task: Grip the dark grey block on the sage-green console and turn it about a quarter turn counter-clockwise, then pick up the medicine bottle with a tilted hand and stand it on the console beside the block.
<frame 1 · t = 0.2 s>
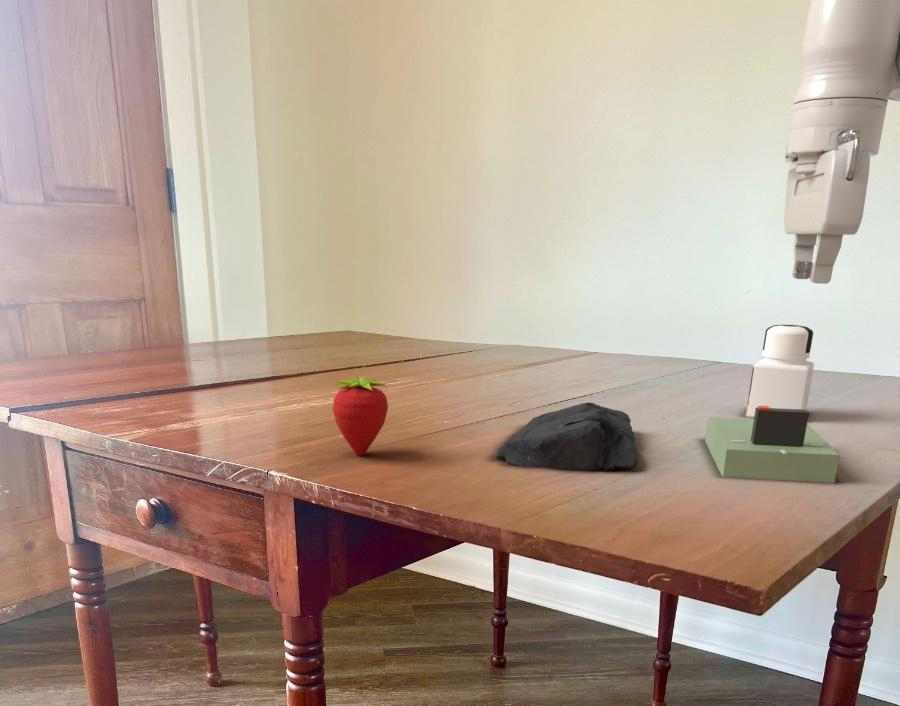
hand: (809, 281, 94), 19 cm above the table, tool pointing down, fingers open, 8 cm apart
console: (763, 460, 96), on the table
dark slate chunk: (573, 449, 100), on the table
medicine bottle: (775, 417, 120), on the table
strawberry: (361, 457, 96), on the table
dark grey block: (779, 425, 90), point 5 cm above the table, hinge at 0.0°
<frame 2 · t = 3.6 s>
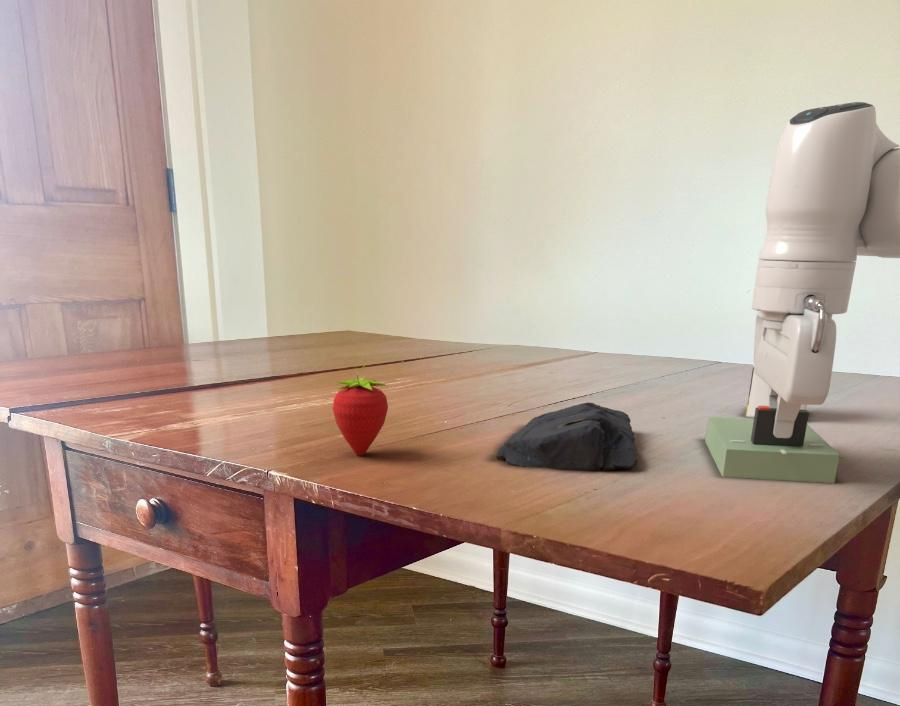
hand: (778, 433, 90), 4 cm above the table, tool pointing down, fingers closed on dark grey block, 2 cm apart
dark grey block: (779, 425, 90), point 5 cm above the table, hinge at -0.1°, touching gripper
everything else where it was.
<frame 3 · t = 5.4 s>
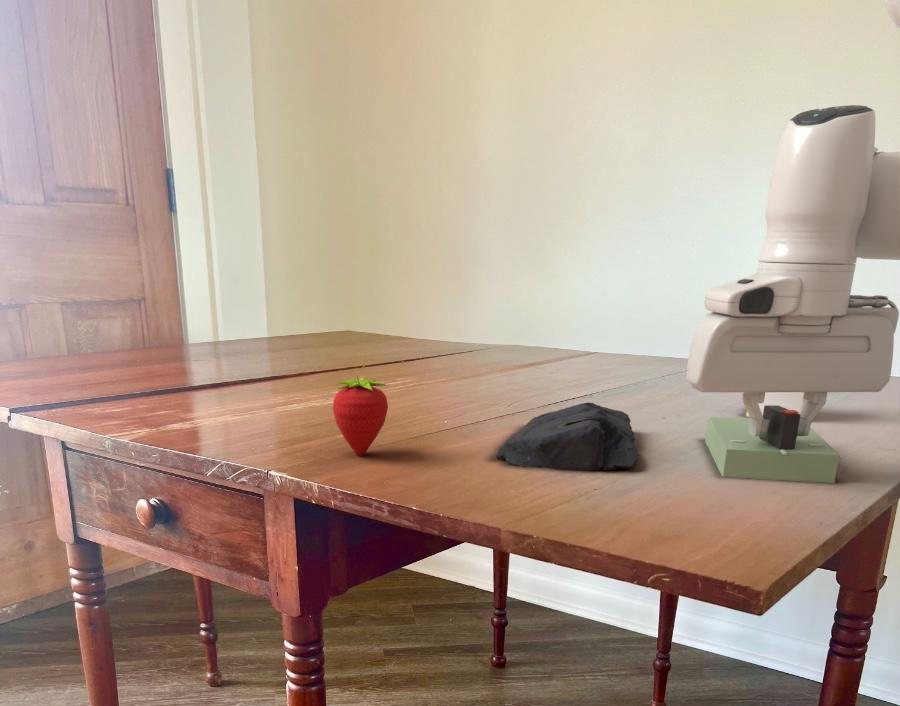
hand: (778, 435, 90), 4 cm above the table, tool pointing down, fingers open, 3 cm apart
dark grey block: (779, 425, 90), point 5 cm above the table, hinge at 104.8°
everything else where it was.
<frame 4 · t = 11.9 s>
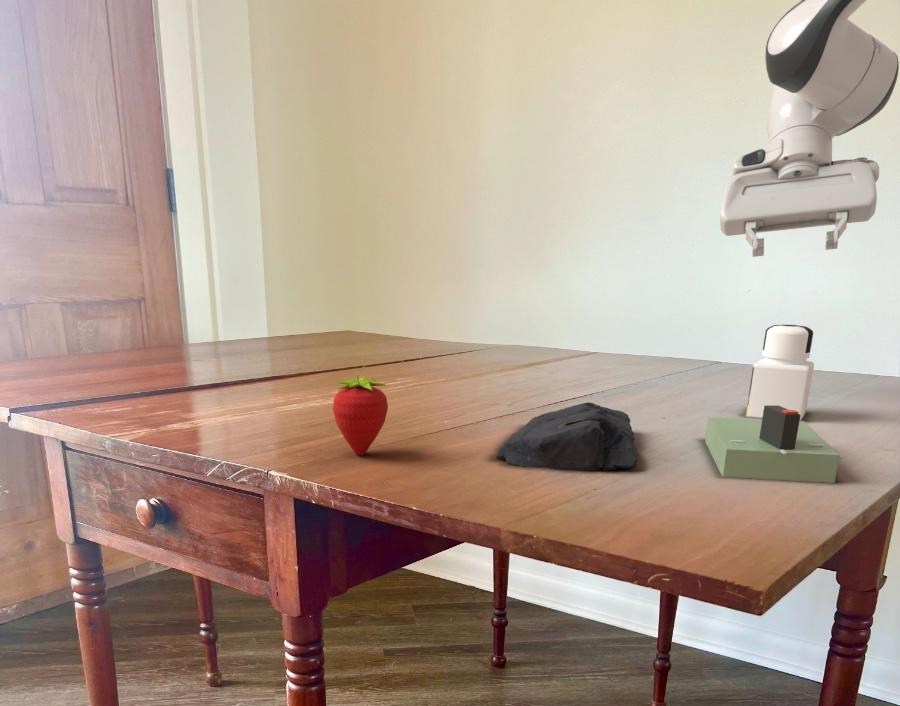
hand: (794, 250, 119), 21 cm above the table, tool tilted 40°, fingers open, 8 cm apart
nothing on the table moved.
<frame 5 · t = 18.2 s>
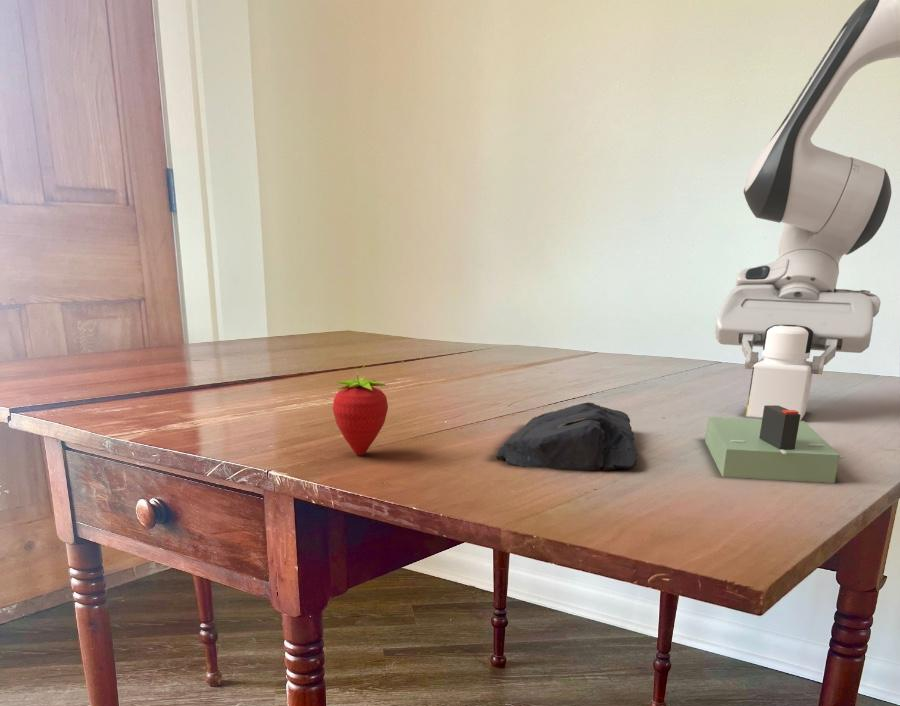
hand: (782, 369, 117), 6 cm above the table, tool tilted 45°, fingers closed on medicine bottle, 7 cm apart
medicine bottle: (775, 417, 120), on the table, touching gripper
everything else where it was.
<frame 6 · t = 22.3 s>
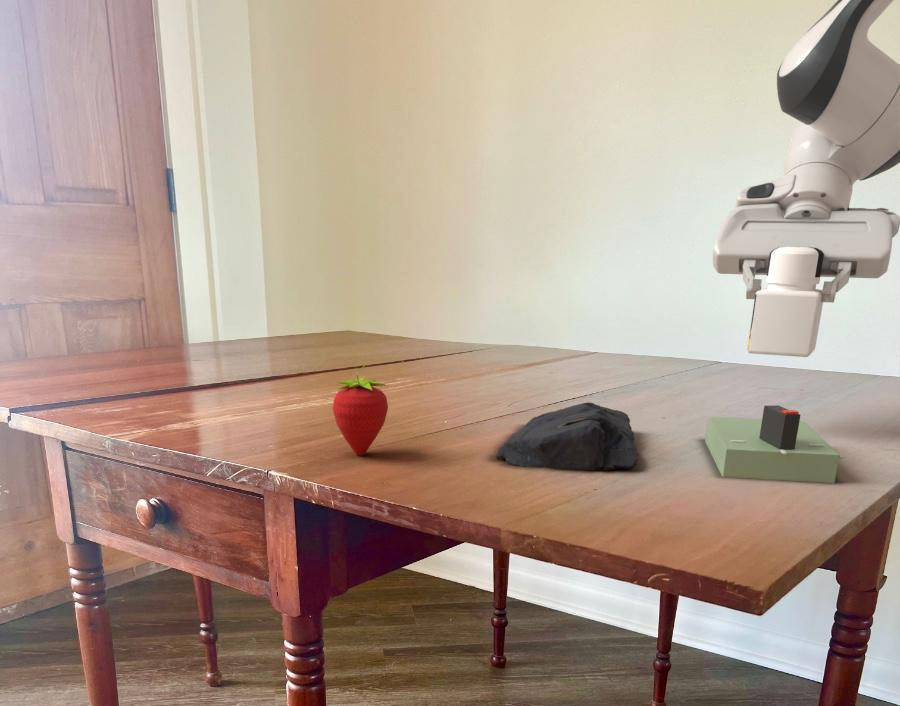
hand: (788, 297, 103), 16 cm above the table, tool tilted 45°, fingers closed on medicine bottle, 7 cm apart
medicine bottle: (780, 353, 106), point 10 cm above the table, touching gripper
everything else where it was.
when the fingers open (9 cm above the table, at t = 26.7 s): medicine bottle stays where it is, resting on console.
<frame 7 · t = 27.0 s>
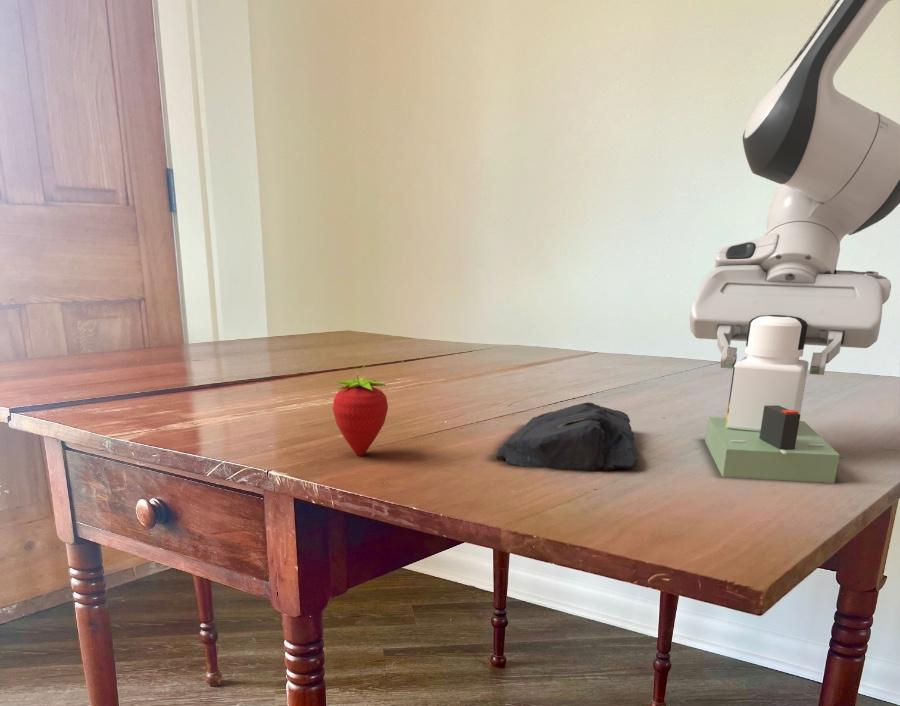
hand: (771, 368, 95), 10 cm above the table, tool tilted 45°, fingers open, 8 cm apart
medicine bottle: (761, 428, 99), point 3 cm above the table, touching console
everything else where it was.
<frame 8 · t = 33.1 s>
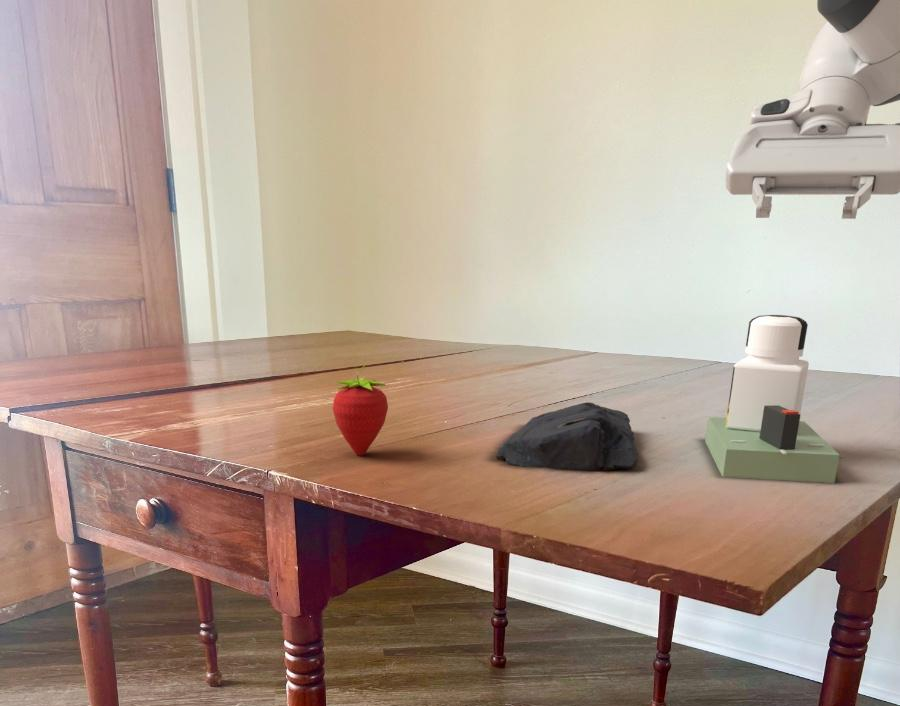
hand: (804, 214, 100), 25 cm above the table, tool tilted 45°, fingers open, 8 cm apart
nothing on the table moved.
at the end: dark grey block at +105° (first picture: +0°); medicine bottle inside the target area on the console (0.0 cm from its centre), point 2.8 cm above the console's base; medicine bottle tilted 0° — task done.
